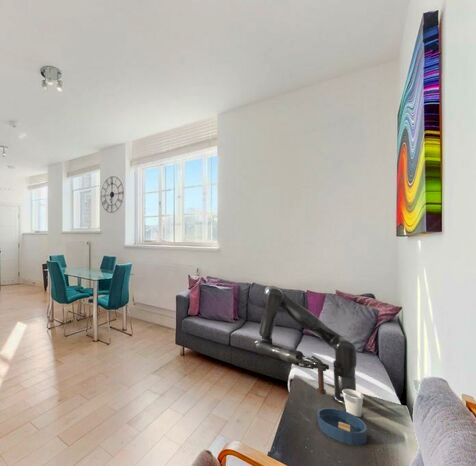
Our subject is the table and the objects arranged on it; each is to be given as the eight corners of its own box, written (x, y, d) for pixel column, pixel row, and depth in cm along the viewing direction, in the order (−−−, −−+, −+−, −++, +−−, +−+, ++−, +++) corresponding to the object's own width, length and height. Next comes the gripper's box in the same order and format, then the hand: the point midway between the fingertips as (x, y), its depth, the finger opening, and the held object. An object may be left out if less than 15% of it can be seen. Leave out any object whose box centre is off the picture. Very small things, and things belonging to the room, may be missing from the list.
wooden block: (339, 430, 125) (338, 421, 125) (350, 434, 122) (350, 425, 123) (338, 435, 122) (338, 426, 122) (350, 439, 119) (350, 430, 119)
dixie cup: (339, 411, 139) (338, 391, 139) (347, 406, 143) (347, 387, 143) (359, 421, 132) (359, 399, 132) (368, 415, 136) (367, 394, 136)
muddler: (319, 389, 138) (318, 359, 139) (327, 393, 135) (326, 362, 136) (315, 392, 137) (314, 361, 137) (323, 395, 134) (322, 364, 134)
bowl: (329, 415, 137) (328, 403, 137) (374, 436, 122) (373, 423, 122) (310, 427, 128) (310, 415, 128) (356, 452, 113) (355, 438, 113)
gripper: (283, 351, 145) (319, 363, 130) (297, 346, 152) (334, 357, 137) (283, 366, 145) (320, 380, 130) (298, 359, 152) (334, 372, 137)
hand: (327, 368), depth 134 cm, fingers closed on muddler, 2 cm apart
